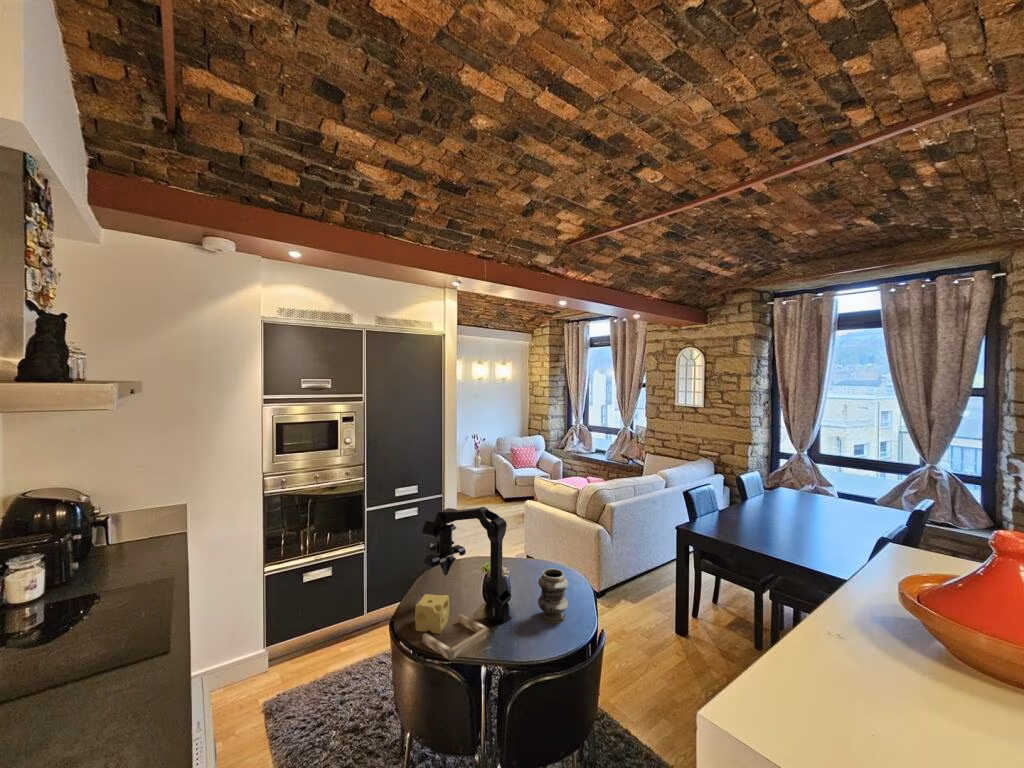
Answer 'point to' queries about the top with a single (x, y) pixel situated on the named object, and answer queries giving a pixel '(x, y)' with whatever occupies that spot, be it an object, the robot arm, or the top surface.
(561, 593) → the apothecary jar
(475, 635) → the square wooden tray
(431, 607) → the cheese
